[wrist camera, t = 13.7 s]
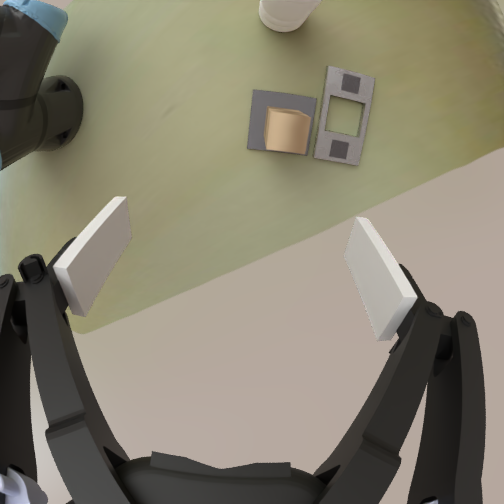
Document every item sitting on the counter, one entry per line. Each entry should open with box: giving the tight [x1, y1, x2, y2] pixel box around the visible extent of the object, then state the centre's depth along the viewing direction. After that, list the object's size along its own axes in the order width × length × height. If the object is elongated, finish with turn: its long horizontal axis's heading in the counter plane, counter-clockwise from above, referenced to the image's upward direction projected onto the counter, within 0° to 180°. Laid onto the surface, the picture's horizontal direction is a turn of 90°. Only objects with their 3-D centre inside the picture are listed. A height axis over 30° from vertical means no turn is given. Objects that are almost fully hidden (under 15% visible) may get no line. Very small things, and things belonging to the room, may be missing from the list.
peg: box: [264, 106, 311, 154], centre depth 36 cm, size 5×5×10 cm
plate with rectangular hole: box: [313, 66, 375, 166], centre depth 39 cm, size 8×16×1 cm, turn 174°
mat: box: [247, 90, 316, 156], centre depth 40 cm, size 10×10×1 cm
